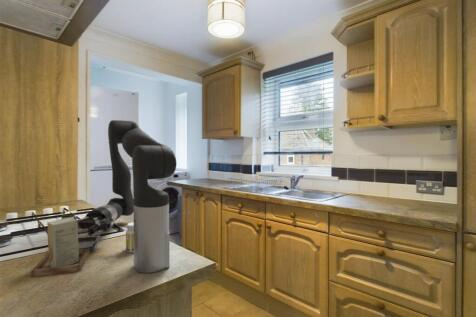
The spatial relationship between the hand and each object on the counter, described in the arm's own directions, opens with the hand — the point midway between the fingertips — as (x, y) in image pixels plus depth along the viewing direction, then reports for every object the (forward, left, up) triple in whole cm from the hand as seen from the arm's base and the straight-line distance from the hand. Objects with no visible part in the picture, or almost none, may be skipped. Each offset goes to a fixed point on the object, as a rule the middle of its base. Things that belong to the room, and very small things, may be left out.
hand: (74, 232), depth 78 cm
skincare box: (+2, +5, -7) cm, 9 cm away
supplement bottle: (-16, 0, -7) cm, 18 cm away
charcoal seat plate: (+1, -8, -7) cm, 10 cm away
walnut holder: (+2, +5, -7) cm, 9 cm away
